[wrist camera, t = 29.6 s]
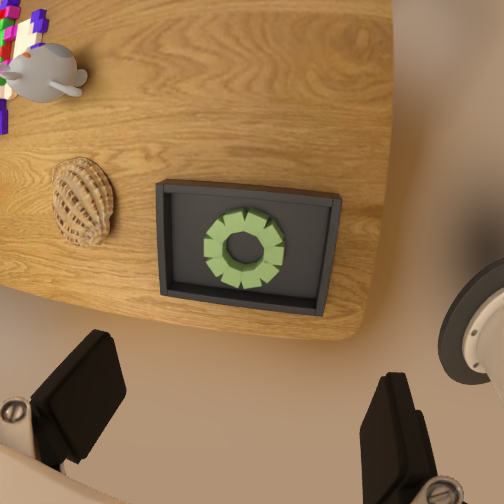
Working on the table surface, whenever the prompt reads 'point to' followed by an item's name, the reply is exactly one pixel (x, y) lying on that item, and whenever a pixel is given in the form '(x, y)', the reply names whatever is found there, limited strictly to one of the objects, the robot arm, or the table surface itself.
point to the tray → (247, 244)
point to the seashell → (82, 201)
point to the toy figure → (44, 74)
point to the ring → (233, 269)
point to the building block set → (16, 45)
